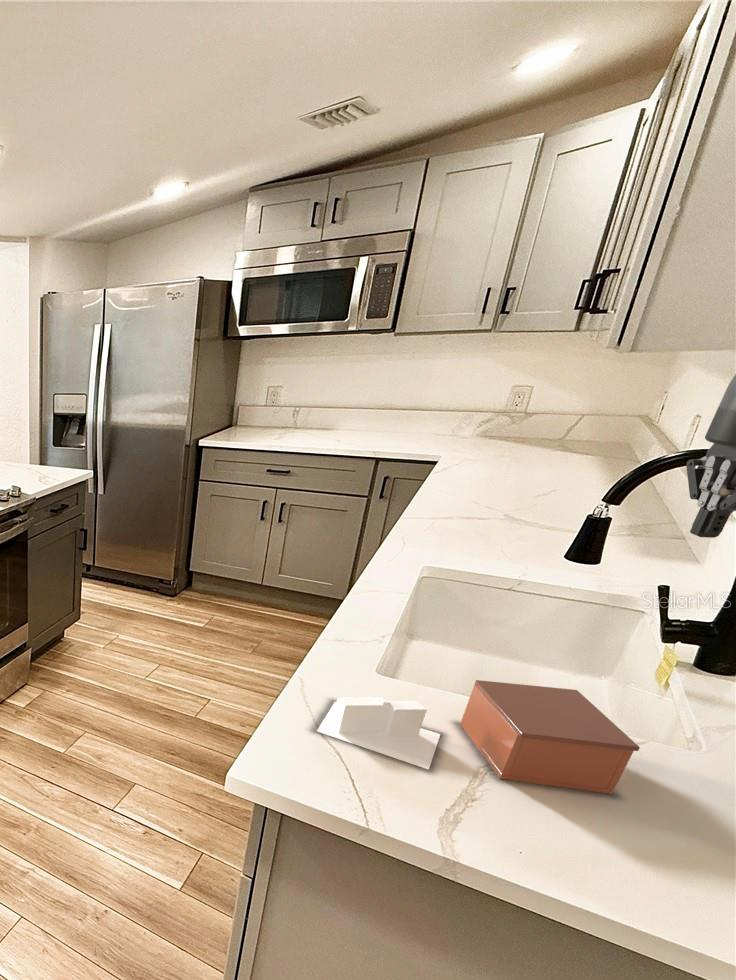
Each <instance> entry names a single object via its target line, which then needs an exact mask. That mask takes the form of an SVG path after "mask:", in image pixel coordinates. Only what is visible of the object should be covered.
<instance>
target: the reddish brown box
mask: <svg viewBox="0 0 736 980" xmlns="http://www.w3.org/2000/svg"><path fill="white" fill-rule="evenodd" d="M459 725H460V726H461V727H462V729H463V730H464V731H465V733H466V734H467V737H469V738H470V740H471V741H472V743H473V744H474V745H475V747H476V748H477V749H478V751H479V752H480V754H481V755H482V756H483V757H484V759H485V760H486V761H487V763H488V765H489V766H490V767H491V768H492V770H493V771H494V773H495V774H496V775H497V776H498V778H499V780H507V781H514V782H522V783H528V784H536V785H544V786H551V787H558V788H566V789H574V790H580V791H587V792H594V793H601V794H607V795H608V794H609V795H612V794H613V793H614V790H615V788H616V786H617V785H618V783H619V781H620V779H621V777H622V775H623V773H624V771H625V769H626V767H627V765H628V763H629V761H630V760H631V757H632V755H633V754H634V751H632V750H623V749H615V748H607V747H598V746H590V745H582V744H573V743H565V742H556V741H548V740H540V739H531V738H523V737H520V736H519V735H518V734H517V733H516V732H515V730H514V729H513V728H512V727H511V726H510V724H509V723H508V722H507V721H506V720H505V719H504V717H503V716H502V715H501V714H500V713H499V711H498V710H497V709H496V708H495V707H494V706H493V704H492V703H491V702H490V701H489V700H488V698H487V697H486V696H485V695H484V694H483V693H482V691H481V690H480V689H479V688H478V687H477V685H476V684H475V683H474V684H473V687H472V689H471V693H470V695H469V699H468V701H467V704H466V707H465V710H464V712H463V715H462V718H461V721H460V724H459Z"/></svg>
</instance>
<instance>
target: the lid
mask: <svg viewBox="0 0 736 980" xmlns="http://www.w3.org/2000/svg"><path fill="white" fill-rule="evenodd" d="M474 684H476V685H477V687H478V688H479V689H480V690H481V691H482V693H483V694H484V695H485V696H486V697H487V698H488V700H489V701H490V702H491V703H492V704H493V706H494V707H495V708H496V709H497V710H498V711H499V713H500V714H501V715H502V716H503V717H504V719H505V720H506V721H507V722H508V723H509V724H510V726H511V727H512V728H513V729H514V730H515V732H516V733H517V734H518V735H519V736H520V737H523V738H531V739H540V740H548V741H556V742H565V743H573V744H582V745H590V746H598V747H607V748H615V749H623V750H632V751H633V752H639V750H640V748H641V747H640V745H638V744H637V743H636V742H635V741H634V740H633V739H632V738H630V737H629V736H628V735H627V734H626V733H625V732H624V731H623V730H621V729H620V728H619V727H618V726H617V725H616V723H614V722H613V721H612V720H611V719H610V718H608V717H607V715H605V714H604V713H603V712H602V711H601V710H600V709H599V708H598V707H596V706H595V704H593V703H592V702H591V701H590V700H589V699H588V698H586V697H585V696H584V695H583V694H582V693H581V692H580V691H578V689H571V688H560V687H552V686H541V685H531V684H520V683H512V682H511V683H510V682H501V681H491V680H490V681H489V680H480V679H476V680H475V681H474Z"/></svg>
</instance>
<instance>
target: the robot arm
mask: <svg viewBox="0 0 736 980" xmlns="http://www.w3.org/2000/svg"><path fill="white" fill-rule="evenodd" d="M734 374H735V375H734V376H733V377H732V378H731V380H730V382H729V383H728V385H727V387H726V389H725V391H724V394H723V395H722V398H721V400H720V403H719V404H718V407H717V409H716V410H715V413H714V416H713V418H712V420H711V422H710V424H709V427H708V428H707V431H706V433H705V436H704V439H705V440H706V442H709V443H712V445H711V446H710V447H709V448H708V449H707V451H706V455H705V456H703V457H701V458H695V459H694V458H693V459H692V458H691V459H688V460H687V461H686V475H687V484H688V492H689V493H688V494H689V498H690V499H691V500H697V507H699V510H698V512H697V514H696V516H695V518H694V521H693V523H692V526H691V528H690V530H689V532H690V534H692V535H694V536H696V537H699V538H717V537H719V536H720V534H721V533H723V531H724V528H725V526H726V525H727V522H728V520H729V518H730V516H731V514H732V513H733V512H736V373H734Z"/></svg>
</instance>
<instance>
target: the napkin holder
mask: <svg viewBox="0 0 736 980" xmlns="http://www.w3.org/2000/svg"><path fill="white" fill-rule="evenodd" d="M427 711H428V710H427V708H426V707H425V706H424V705H423V704H421V703H420V702H419V701H418V700H388V699H387V698H384V697H383V696H350V697H349V696H339V697H337V699H336V701H334V702H333V704H332V705H331V707H330V709H329V711H328V712H327V714H326V715H325V717H324V719H323V720H322V722H321V723H320V725H319V727H318V728H317V729H316V732H318V733H321V734H323V735H326V736H329V737H332V738H335V739H338V740H341V741H344V742H347V743H350V744H353V745H356V746H359V747H362V748H364V749H367V750H369V751H370V750H371V751H373V752H376V753H379V754H382V755H385V756H388V757H391V758H394V759H396V760H399V761H402V762H406V763H408V764H411V765H414V766H418V767H420V768H422V769H425V770H428V771H429V770H430V766H431V764H432V761H433V758H434V755H435V752H436V749H437V746H438V743H439V741H440V737H441V733H438V732H434V731H432V730H428V729H425V728H423V727H422V726H423V722H424V719H425V716H426V713H427Z"/></svg>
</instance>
